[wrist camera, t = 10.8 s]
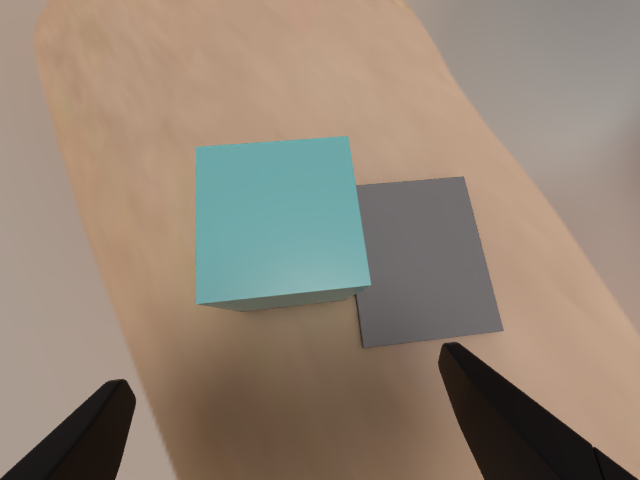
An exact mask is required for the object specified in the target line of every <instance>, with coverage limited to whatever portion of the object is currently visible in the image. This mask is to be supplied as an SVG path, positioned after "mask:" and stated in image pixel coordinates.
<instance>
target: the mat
mask: <svg viewBox="0 0 640 480" xmlns="http://www.w3.org/2000/svg"><path fill="white" fill-rule="evenodd" d="M356 190H357V197H358V203H359V210H360V216H361V223H362V229H363V235H364V242H365V248H366V255H367V261H368V268H369V274H370V281H371V286H369V287H367V288H365V289H364V290H362V291H360V292H358V293H357V294H356V301H357V308H358V315H359V322H360V329H361V337H362V344H363V348H369V347H377V346H385V345H393V344H402V343H410V342H418V341H426V340H434V339H442V338H450V337H458V336H466V335H475V334H483V333H491V332H499V331H504V330H503V326H502V323H501V319H500V315H499V311H498V307H497V303H496V299H495V295H494V292H493V288H492V284H491V280H490V276H489V272H488V268H487V264H486V261H485V257H484V253H483V249H482V245H481V241H480V237H479V233H478V229H477V226H476V222H475V218H474V214H473V210H472V206H471V202H470V198H469V195H468V191H467V187H466V183H465V179H464V177H452V178H440V179H428V180H416V181H404V182H393V183H381V184H369V185H357V186H356Z"/></svg>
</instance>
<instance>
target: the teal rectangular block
mask: <svg viewBox="0 0 640 480" xmlns="http://www.w3.org/2000/svg"><path fill="white" fill-rule="evenodd" d="M195 157H196V304H199V305H205V306H211V307H216V308H222V309H228V310H234V311H240V312H243V311H252V310H261V309H270V308H279V307H288V306H297V305H306V304H315V303H324V302H333V301H342V300H346V299H348V298H350V297H351V296H353V295H355V294H357V293H358V292H360V291H362V290H364V289H365V288H367V287H369V286H371V281H370V274H369V268H368V261H367V255H366V248H365V242H364V235H363V229H362V223H361V216H360V210H359V203H358V197H357V190H356V184H355V177H354V171H353V164H352V158H351V151H350V145H349V139H348V136H342V137H328V138H315V139H301V140H287V141H273V142H259V143H245V144H231V145H217V146H203V147H195Z"/></svg>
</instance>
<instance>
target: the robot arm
mask: <svg viewBox="0 0 640 480" xmlns="http://www.w3.org/2000/svg"><path fill="white" fill-rule="evenodd" d="M438 366H439V370H440V373H441V376H442V379H443V382H444V384H445V387H446V390H447V393H448V396H449V399H450V401H451V404H452V407H453V410H454V413H455V416H456V418H457V421H458V423H459V426H460V428H461V430H462V432H463V435H464V437H465V439H466V441H467V443H468V445H469V447H470V450H471V452H472V454H473V456H474V458H475V460H476V463H477V465H478V467H479V469H480V471H481V473H482V475H483V478H484V480H638V479H637V478H636V477H634V476H633V475H632V474H630V473H629V472H628V471H626V470H625V469H624V468H622V467H621V466H620V465H618V464H617V463H616V462H614V461H613V460H612V459H610V458H609V457H608V456H606V455H605V454H604V453H602V452H601V451H600V450H598V449H597V448H596V447H593V446H592V445H591V444H590V443H589V442H588V441H586V440H585V439H584V438H583V437H581V436H580V435H579V434H577V433H576V432H575V431H573V430H572V429H571V428H569V427H568V426H567V425H566V424H564V423H563V422H562V421H560V420H559V419H558V418H556V417H555V416H554V415H552V414H551V413H550V412H549V411H547V410H546V409H545V408H543V407H542V406H541V405H539V404H538V403H537V402H535V401H534V400H533V399H531V398H530V397H529V396H528V395H526V394H525V393H524V392H522V391H521V390H520V389H518V388H517V387H516V386H514V385H513V384H512V383H511V382H509V381H508V380H507V379H505V378H504V377H503V376H501V375H500V374H499V373H497V372H496V371H495V370H494V369H492V368H491V367H490V366H488V365H487V364H486V363H484V362H483V361H482V360H480V359H479V358H478V357H476V356H475V355H474V354H473V353H471V352H470V351H469V350H467V349H466V348H465V347H463V346H462V345H461V344H459V343H457V342H450V343H444V344H443V345H442V348H441V352H440V356H439V361H438ZM135 405H136V398H135V395H134V393H133V391H132V390H131V388H130V386H129V385H128V382H127V381H126V380H124V379H118V380H110V381H108V382H106V383H105V384H103V385H102V386H101V387H100V388H99V389H98V390H97V391H96V392H95V393H94V394H93V395H91V396H90V397H89V398H88V399H87V400H86V401H85V402H84V403H83V404H82V405H81V406H80V407H78V408H77V409H76V410H75V411H74V412H73V413H72V414H71V415H70V416H68V417H67V418H66V419H65V420H64V421H63V422H62V423H61V424H60V425H59V426H57V427H56V428H55V429H54V430H53V431H52V432H51V433H50V434H49V435H48V436H47V437H45V438H44V439H43V440H42V441H41V442H40V443H39V444H38V445H37V446H36V447H35V448H33V450H31V451H30V452H29V453H28V454H27V455H26V456H25V457H24V458H22V459H21V460H20V461H19V462H18V463H17V464H16V465H15V466H14V467H13V468H12V469H10V470H9V471H8V472H7V473H6V474H5V475H4V476H3V477H2V478H1V479H0V480H115V478H116V476H117V472H118V469H119V467H120V463H121V459H122V456H123V452H124V448H125V444H126V440H127V437H128V433H129V429H130V425H131V421H132V417H133V413H134V409H135Z"/></svg>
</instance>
